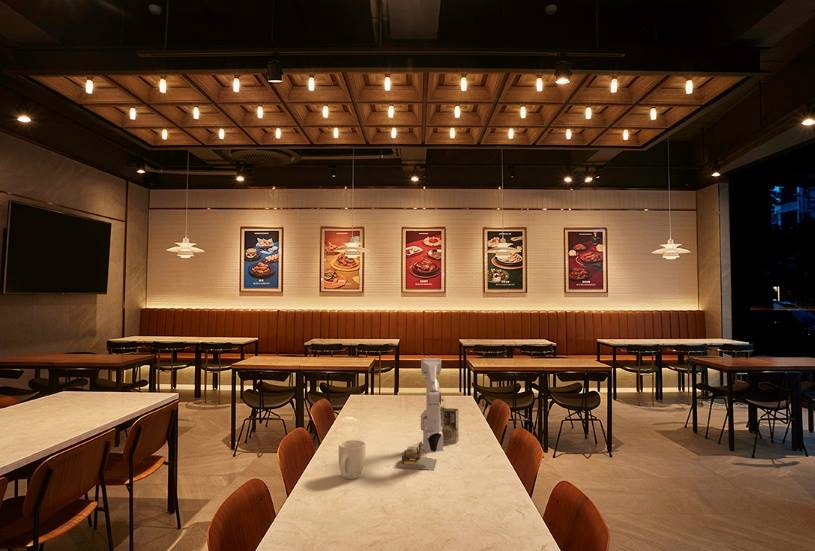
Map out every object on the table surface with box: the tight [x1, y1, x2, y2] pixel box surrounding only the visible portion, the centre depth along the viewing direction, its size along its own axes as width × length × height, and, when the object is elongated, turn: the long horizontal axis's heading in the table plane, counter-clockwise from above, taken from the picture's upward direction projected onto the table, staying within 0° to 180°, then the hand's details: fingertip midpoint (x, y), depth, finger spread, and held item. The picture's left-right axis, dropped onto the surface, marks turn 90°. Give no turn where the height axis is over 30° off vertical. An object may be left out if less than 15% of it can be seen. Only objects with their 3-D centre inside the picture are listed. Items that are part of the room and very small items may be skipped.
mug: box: [338, 439, 367, 480], centre depth 181 cm, size 15×11×13 cm
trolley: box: [406, 441, 423, 460], centre depth 198 cm, size 6×6×7 cm
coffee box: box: [440, 407, 460, 444], centre depth 232 cm, size 9×6×16 cm
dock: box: [398, 449, 438, 472], centre depth 197 cm, size 15×14×4 cm
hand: (433, 450), depth 197 cm, fingers closed
